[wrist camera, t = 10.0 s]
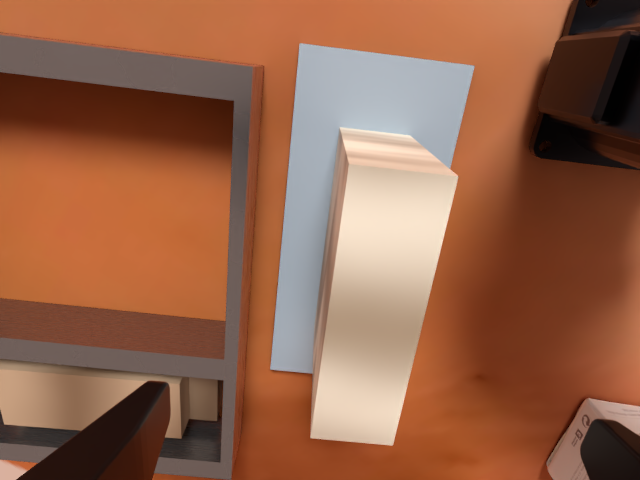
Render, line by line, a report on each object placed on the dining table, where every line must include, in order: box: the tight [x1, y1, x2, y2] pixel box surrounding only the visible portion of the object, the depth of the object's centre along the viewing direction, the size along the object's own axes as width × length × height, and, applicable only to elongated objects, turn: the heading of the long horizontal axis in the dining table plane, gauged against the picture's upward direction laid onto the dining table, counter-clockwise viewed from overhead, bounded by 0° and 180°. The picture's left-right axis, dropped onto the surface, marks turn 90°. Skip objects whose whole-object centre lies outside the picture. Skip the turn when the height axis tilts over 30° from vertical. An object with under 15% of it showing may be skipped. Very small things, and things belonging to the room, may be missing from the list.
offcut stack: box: [0, 359, 222, 439], centre depth 23 cm, size 11×4×3 cm, turn 84°
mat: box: [270, 43, 475, 374], centre depth 20 cm, size 7×16×1 cm, turn 173°
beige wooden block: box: [310, 127, 459, 446], centre depth 17 cm, size 10×3×7 cm, turn 174°
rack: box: [0, 33, 264, 480], centre depth 20 cm, size 14×20×3 cm
